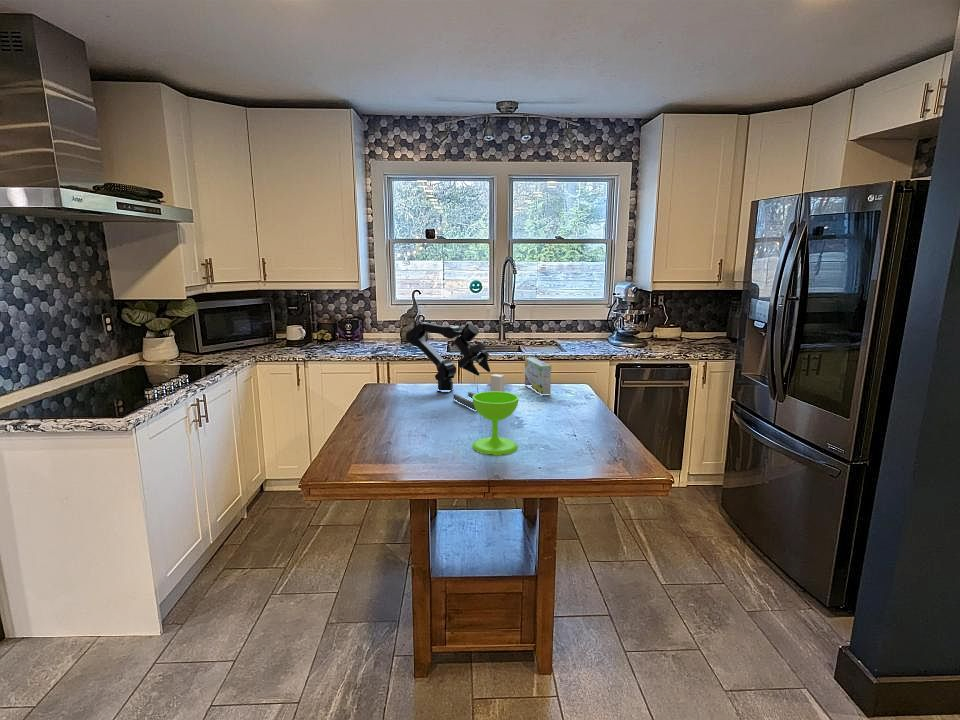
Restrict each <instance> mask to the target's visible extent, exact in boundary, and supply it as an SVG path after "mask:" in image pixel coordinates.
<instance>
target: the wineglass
mask: <svg viewBox="0 0 960 720" xmlns="http://www.w3.org/2000/svg"><path fill="white" fill-rule="evenodd" d="M474 394H475V395H473V397H472V399H473V404H474V407H475V409H476V410H477V412H476V413H478V414H479V415H480V416H481V417H482V418H484V419H485V420H490V421H492V423H491V424H492V425H491V426H492V427H491V428H492V429H491V431H492V432H491V433H492V434H491V435H492V436H489V437H483V438H480V439H477V440H476V441H474V442H473V444H472V446H473V448H474V449H475V450H476V451H479V452H482V453H485V454H494V455H493V456H503V455H502V454H507V455H509V454H508V453H511V454H513V453H515V452H516V451H518V449H517V448H518V447H519V446H518V445H517V443H516V442H515V441H514V440H511V439H509V438H506V437H499V436H498V435H499V421H502V420H505V419H507V418H508V417H510V416H511V415H513V413H514V412H515V411H516V409H517V407H518V405H519V401H520V400H519V399H520V398H519V395H517V394H515V393H512V392H507V391H504V392H499V391H491V390H488V391H483V392H477V393H474ZM472 446H471V447H472ZM473 448H472V449H473ZM476 451H475V452H476ZM514 451H515V452H514ZM512 452H513V453H512ZM485 454H484V455H485Z"/></svg>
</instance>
